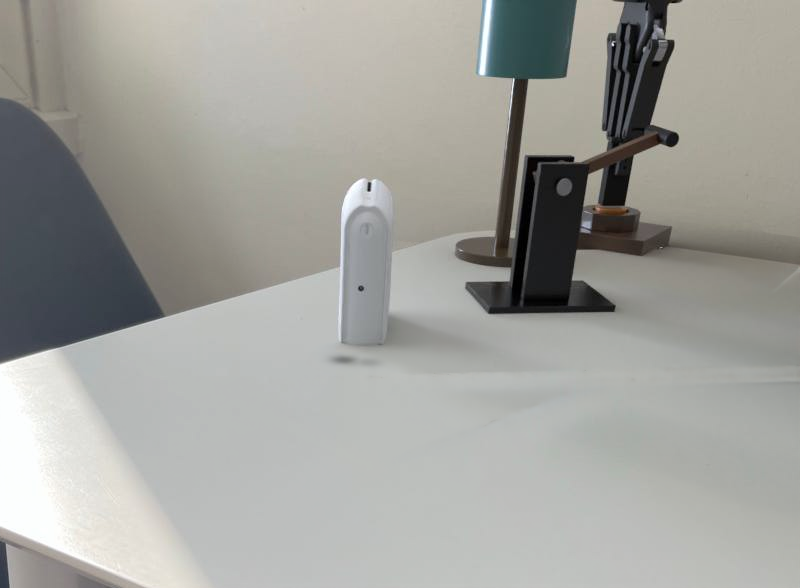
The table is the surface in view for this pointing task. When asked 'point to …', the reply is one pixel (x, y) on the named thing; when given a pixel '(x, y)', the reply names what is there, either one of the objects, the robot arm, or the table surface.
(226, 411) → the table surface
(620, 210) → the lamp button
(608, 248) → the block
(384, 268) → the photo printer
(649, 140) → the switch lever
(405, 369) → the table surface
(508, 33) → the lamp
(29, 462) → the table surface
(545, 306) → the switch bracket
